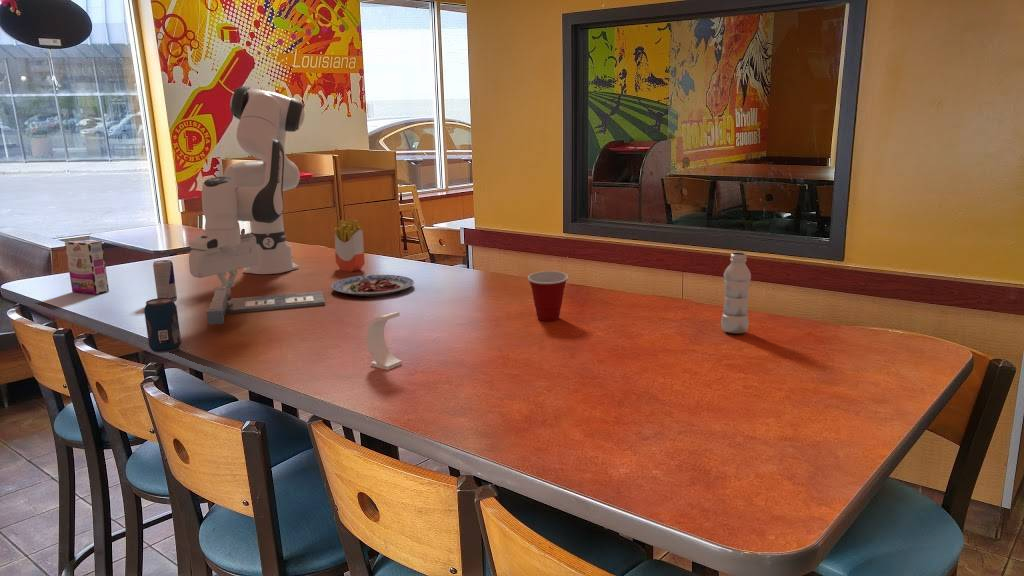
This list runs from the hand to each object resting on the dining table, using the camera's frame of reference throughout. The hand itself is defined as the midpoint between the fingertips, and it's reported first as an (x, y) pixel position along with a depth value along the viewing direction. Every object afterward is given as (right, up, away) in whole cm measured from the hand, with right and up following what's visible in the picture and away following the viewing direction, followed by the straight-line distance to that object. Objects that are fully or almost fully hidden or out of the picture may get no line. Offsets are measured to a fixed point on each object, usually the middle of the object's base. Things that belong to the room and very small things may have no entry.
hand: (228, 286), depth 200 cm
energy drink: (-26, -4, +19) cm, 32 cm away
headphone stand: (+50, -18, -40) cm, 67 cm away
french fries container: (+20, +6, +59) cm, 63 cm away
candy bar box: (-56, -2, +31) cm, 64 cm away
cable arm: (-1, -6, -3) cm, 7 cm away
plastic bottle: (+134, -12, -20) cm, 136 cm away
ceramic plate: (+34, -1, +30) cm, 46 cm away
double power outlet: (+7, -5, +13) cm, 16 cm away
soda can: (-4, -15, -28) cm, 32 cm away
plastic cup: (+88, -9, -6) cm, 89 cm away
